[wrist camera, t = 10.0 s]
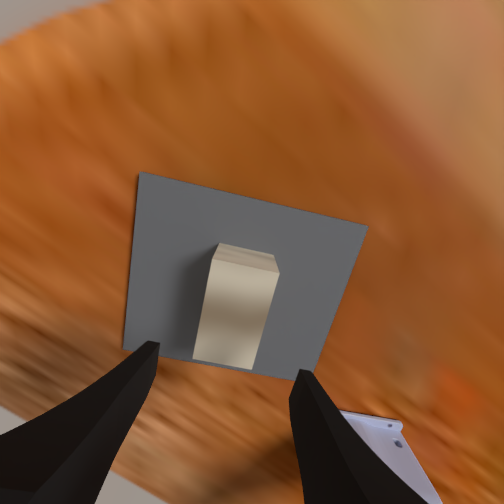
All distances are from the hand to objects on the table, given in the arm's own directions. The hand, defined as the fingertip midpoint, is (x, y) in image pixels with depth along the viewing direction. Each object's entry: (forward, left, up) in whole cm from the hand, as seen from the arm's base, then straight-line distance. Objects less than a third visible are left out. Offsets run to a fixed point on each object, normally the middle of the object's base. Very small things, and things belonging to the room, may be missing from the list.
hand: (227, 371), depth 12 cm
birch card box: (0, 0, -9) cm, 9 cm away
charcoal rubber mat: (0, 0, -9) cm, 9 cm away
